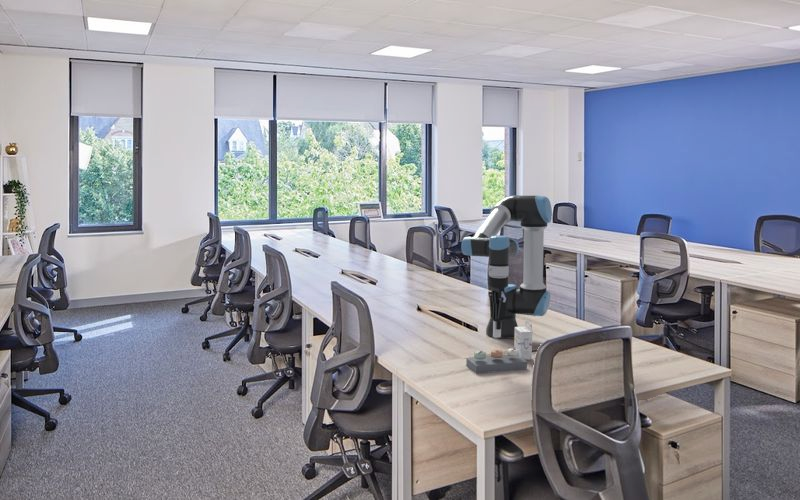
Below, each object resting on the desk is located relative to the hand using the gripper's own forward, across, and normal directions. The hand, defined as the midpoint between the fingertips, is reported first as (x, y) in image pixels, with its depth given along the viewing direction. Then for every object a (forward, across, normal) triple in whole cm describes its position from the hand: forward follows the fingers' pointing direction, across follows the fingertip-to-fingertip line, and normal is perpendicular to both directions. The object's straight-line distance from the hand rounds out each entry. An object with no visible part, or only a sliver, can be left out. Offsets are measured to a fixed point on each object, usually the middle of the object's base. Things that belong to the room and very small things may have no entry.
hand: (496, 337), depth 244 cm
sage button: (+8, 0, -7) cm, 10 cm away
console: (+12, 0, 0) cm, 12 cm away
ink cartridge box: (+12, -10, +16) cm, 23 cm away
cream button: (+8, 0, +7) cm, 11 cm away
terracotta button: (+8, 0, 0) cm, 8 cm away
